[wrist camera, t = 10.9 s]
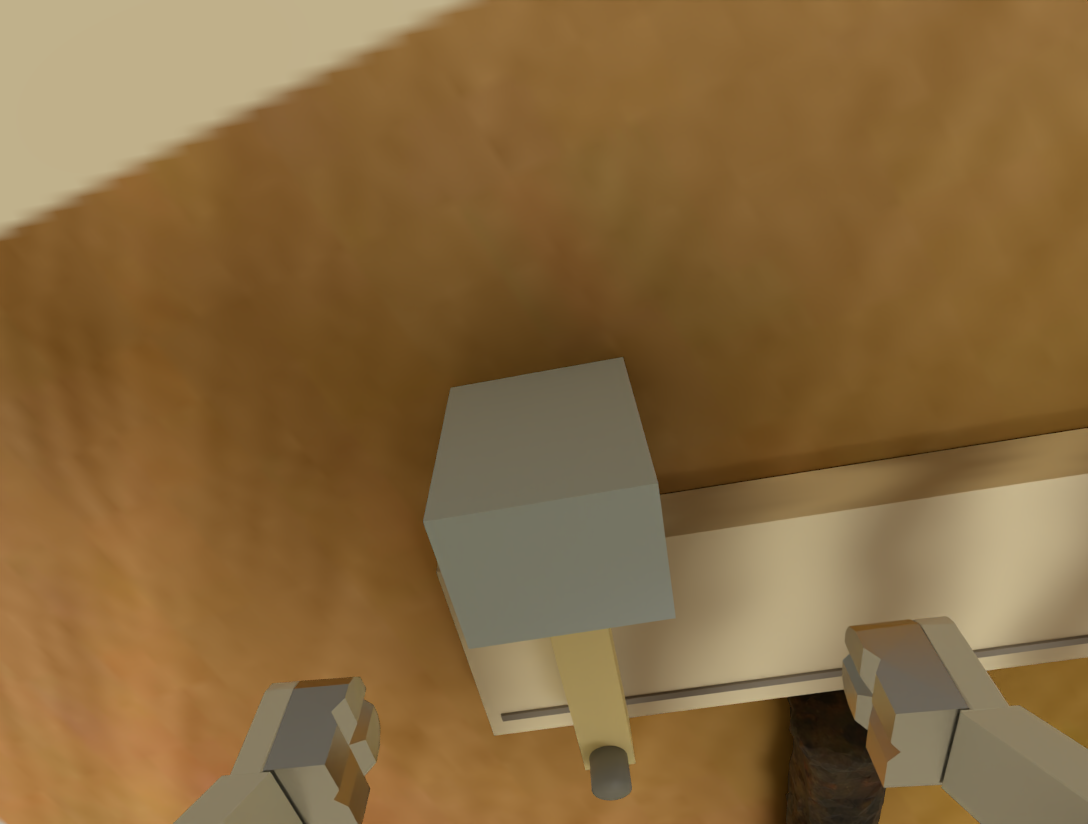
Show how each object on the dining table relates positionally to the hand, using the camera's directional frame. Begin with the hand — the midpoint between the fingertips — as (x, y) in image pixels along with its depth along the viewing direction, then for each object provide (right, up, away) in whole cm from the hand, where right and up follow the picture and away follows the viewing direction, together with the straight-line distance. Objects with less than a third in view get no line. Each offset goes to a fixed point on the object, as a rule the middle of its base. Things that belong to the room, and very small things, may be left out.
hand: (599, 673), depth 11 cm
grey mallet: (0, 0, +11) cm, 11 cm away
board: (+10, 0, +12) cm, 16 cm away
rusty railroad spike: (+11, -13, +20) cm, 26 cm away
